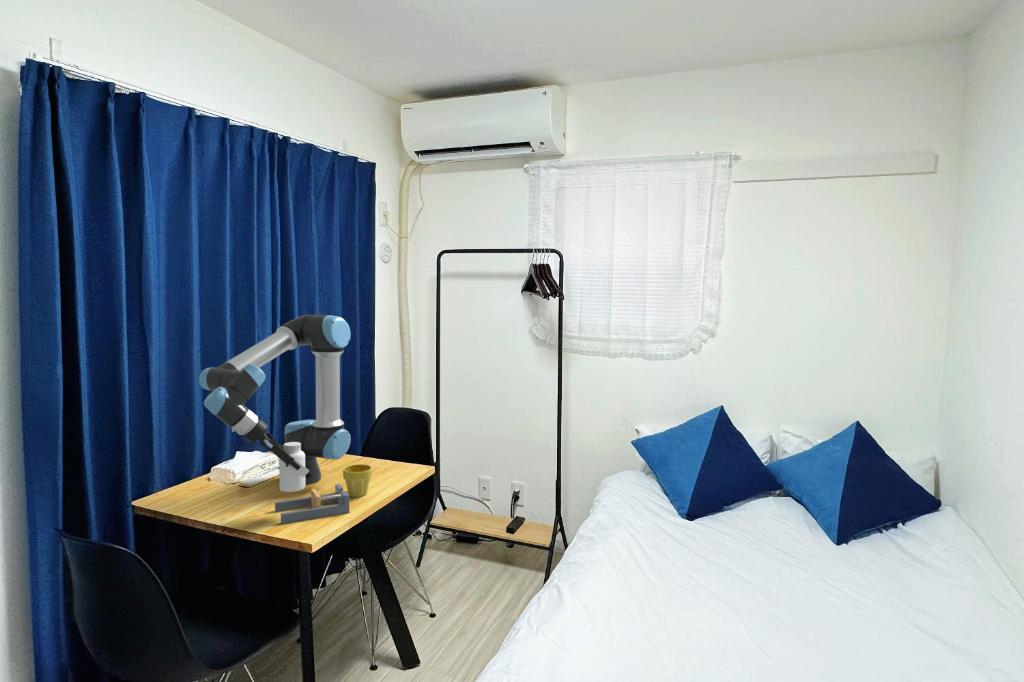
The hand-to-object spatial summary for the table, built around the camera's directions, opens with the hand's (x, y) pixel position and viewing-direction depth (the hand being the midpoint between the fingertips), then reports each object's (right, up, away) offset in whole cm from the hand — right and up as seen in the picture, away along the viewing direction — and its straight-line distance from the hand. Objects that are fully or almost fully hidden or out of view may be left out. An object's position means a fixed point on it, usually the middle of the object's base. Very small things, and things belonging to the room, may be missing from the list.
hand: (303, 470), depth 195 cm
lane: (+1, -14, +3) cm, 15 cm away
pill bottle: (-3, -6, -1) cm, 7 cm away
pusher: (+7, -14, +6) cm, 17 cm away
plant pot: (+12, -13, +21) cm, 28 cm away
